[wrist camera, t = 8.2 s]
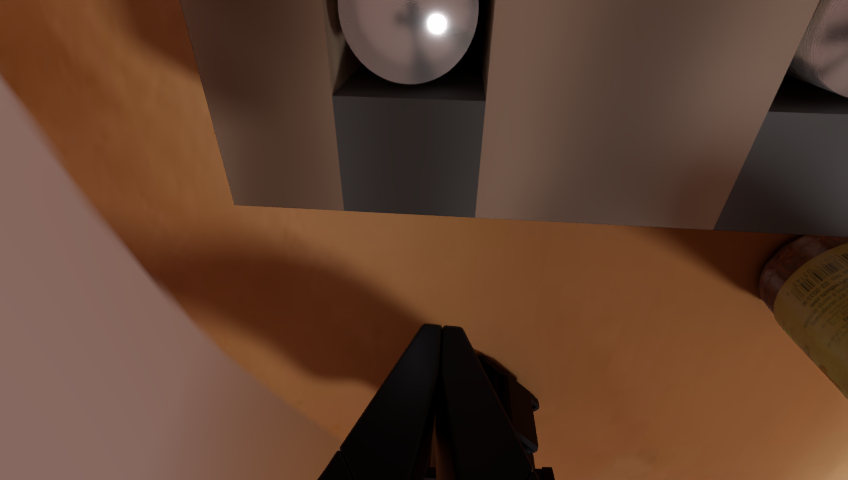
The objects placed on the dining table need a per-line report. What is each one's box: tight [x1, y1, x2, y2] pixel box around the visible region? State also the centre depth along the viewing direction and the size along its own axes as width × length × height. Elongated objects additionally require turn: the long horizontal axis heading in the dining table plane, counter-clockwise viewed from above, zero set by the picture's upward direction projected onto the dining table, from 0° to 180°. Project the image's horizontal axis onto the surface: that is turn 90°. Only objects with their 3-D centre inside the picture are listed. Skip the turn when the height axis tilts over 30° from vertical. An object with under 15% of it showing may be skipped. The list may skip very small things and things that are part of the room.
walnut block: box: [180, 0, 848, 237], centre depth 13 cm, size 24×12×7 cm, turn 89°
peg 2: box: [785, 0, 848, 97], centre depth 13 cm, size 4×4×7 cm
